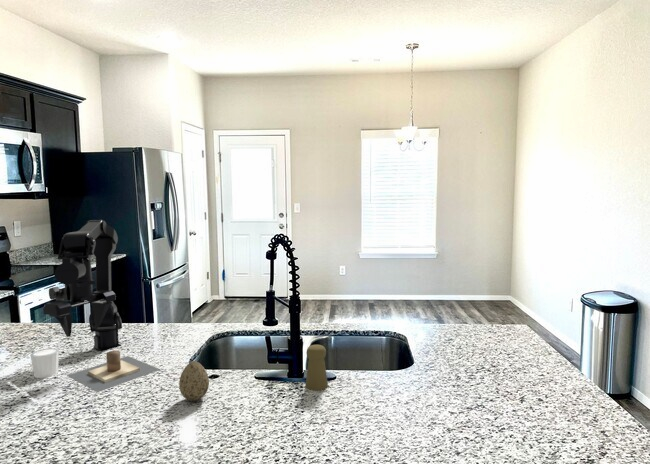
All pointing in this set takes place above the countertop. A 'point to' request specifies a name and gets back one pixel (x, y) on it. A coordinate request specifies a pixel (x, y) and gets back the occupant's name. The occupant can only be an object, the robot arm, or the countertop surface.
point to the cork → (316, 368)
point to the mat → (100, 385)
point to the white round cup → (45, 362)
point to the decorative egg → (194, 381)
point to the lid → (113, 368)
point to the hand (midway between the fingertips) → (83, 331)
